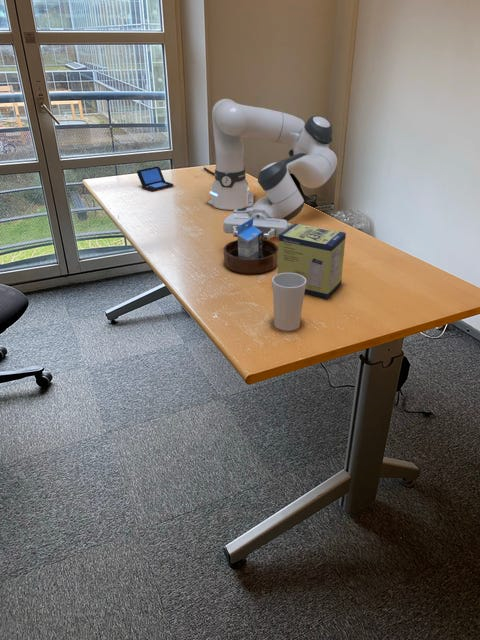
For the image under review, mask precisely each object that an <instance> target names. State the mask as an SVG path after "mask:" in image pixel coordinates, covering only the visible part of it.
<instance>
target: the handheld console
mask: <svg viewBox="0 0 480 640" xmlns="http://www.w3.org/2000/svg"><path fill="white" fill-rule="evenodd" d="M136 174H137V176H138V180H139V182H140V184H141V188H142V189H143V190H146V191H150V192H155V191H156V192H157V191H160V190H164V189H169V188H172V187H174V183H171V182H169V181H166V180H165V177H164V175H163V172H162V169H161V167H159V166H158V165H157V166H152V167H148V168H143V169H138V170H137V171H136Z"/></svg>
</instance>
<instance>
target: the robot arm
mask: <svg viewBox="0 0 480 640" xmlns="http://www.w3.org/2000/svg"><path fill="white" fill-rule="evenodd" d="M211 117H212V119H211V121H212V131H213V140H214V141H213V142H214V148H215V150H214V151H215V169H214V172H213V171H211V170H209V169H208V168H206V167H203V170H205V171H206V172H208V173H210V174H211V175H214V179H215V180H214V181H213V182H212V183H211V191H209V194H210V195H211V198H210V199H208V200H207V203H208V205H211V206H213V207H214V208H216V209H219V210H228V211H229V210H230V211H232V210H233V211H232V213H230V214H229V215H228V216H227V217H226V218H225V219H224V220H223V223H222V231H223V233H225V234H231V235H232V236H233V238H238V226H240V225H241V224H243V223H245V222H247V221H248V220H250V219H252V218H254V219H253V226H254V227H256V228H257V229H259V230H260V231H262V232H263V240H266V241H269V240H270V239H271V238H279V234H281V233H282V232H284V231H285V230H286V229H288V228H289V227H291V226H292V223H291V222H289V221H291V220H293V219H295V218H296V217H297V216H298V215H299V214H300V213H301V212H302V210H303V208H304V205H305V200H304V197H303V195H302V194H301V192H300V190H299V188H298V186H297V185H296V183H295V181H294V179H293V178H292V176H291V174H290V172H291V173H292V175H293V176H294V177H295V179H296V180H297V181H298V182H299V183H300V185H302V186H303V187H305V188H308V189H318V188H320V187H322V186H323V185H325V184H326V183H327V182H328V181H329V180H330V178H332V176H333V175H334V173H335V171H336V169H337V166H338V157H337V154H336V153H335V152H334V151H333V150H332V149H330V143H332V142H333V126H332V123H331V122H330V121H329V120H328V119H327V118H325V117H323V116H320V115H313V116H310V117H309V118H308V119H307V120H306V122H305V121H304V120H303V119H302V118H299V117H298V116H295V115H292V114H291V113H286V112H283V111H278V110H274V109H269V108H266V107H260V106H259V107H257V106H251V105H246V104H240V103H238V102H237V101H234V100H232V99H230V98H223V99H219V100H218V101H216V102H215V104H214V105H213V107H212V110H211ZM243 138H247V139H256V140H262V141H267V142H272V143H278V144H284V145H287V146H289V147H290V148H291V149H290V150H288V156H289V157H286V158H283V159H281V160H279V161H276V162H271V163H269V164H267V165H265V166H264V167H262V169H260V171H259V172H258V177H257V183H258V185H259V186H260V188H261V189H262V190H263V191H264V193H265V194H266V195H264V196H262V197H260V198H259V199H257V200H256V201H255V199H254V198H255V197H254V196H255V195H254V193H252V192H249V182H248V180H247V179H246V174H247V173H246V166H245V147H244V142H243ZM254 201H255V202H254ZM247 226H248V225H245V226H244V227H243V229H244V228H246V227H247Z"/></svg>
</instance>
